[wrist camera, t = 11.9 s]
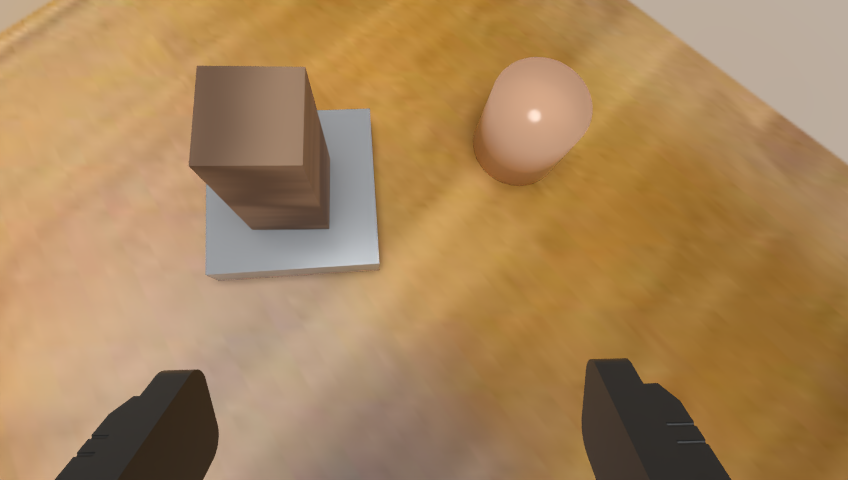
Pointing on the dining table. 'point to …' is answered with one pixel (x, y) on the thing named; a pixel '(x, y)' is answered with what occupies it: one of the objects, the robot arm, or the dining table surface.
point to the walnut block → (262, 145)
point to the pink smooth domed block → (531, 120)
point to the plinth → (307, 248)
